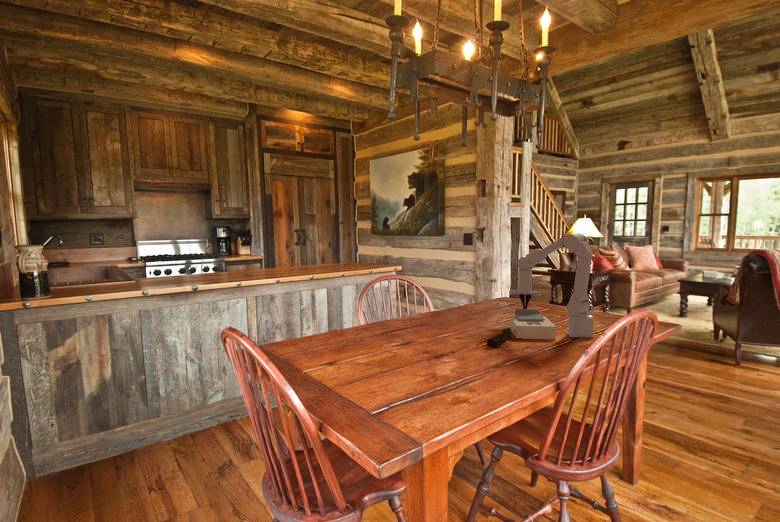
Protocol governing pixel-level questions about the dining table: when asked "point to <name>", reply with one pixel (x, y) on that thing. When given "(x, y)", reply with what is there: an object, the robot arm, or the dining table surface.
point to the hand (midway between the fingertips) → (525, 310)
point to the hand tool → (499, 338)
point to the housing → (532, 329)
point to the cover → (528, 314)
